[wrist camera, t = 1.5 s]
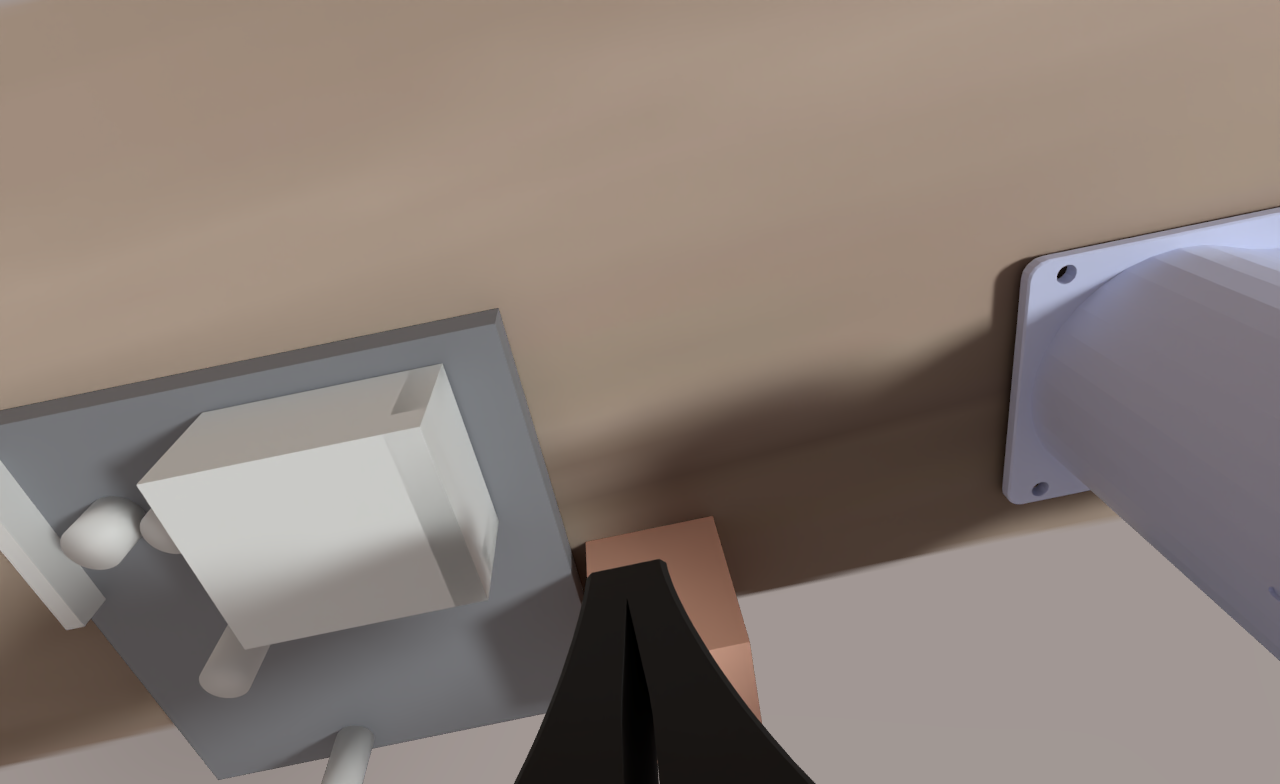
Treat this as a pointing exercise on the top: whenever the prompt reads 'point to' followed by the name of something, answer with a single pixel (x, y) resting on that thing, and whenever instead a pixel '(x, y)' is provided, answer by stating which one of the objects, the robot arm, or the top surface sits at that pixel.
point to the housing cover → (330, 507)
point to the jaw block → (692, 589)
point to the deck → (316, 665)
